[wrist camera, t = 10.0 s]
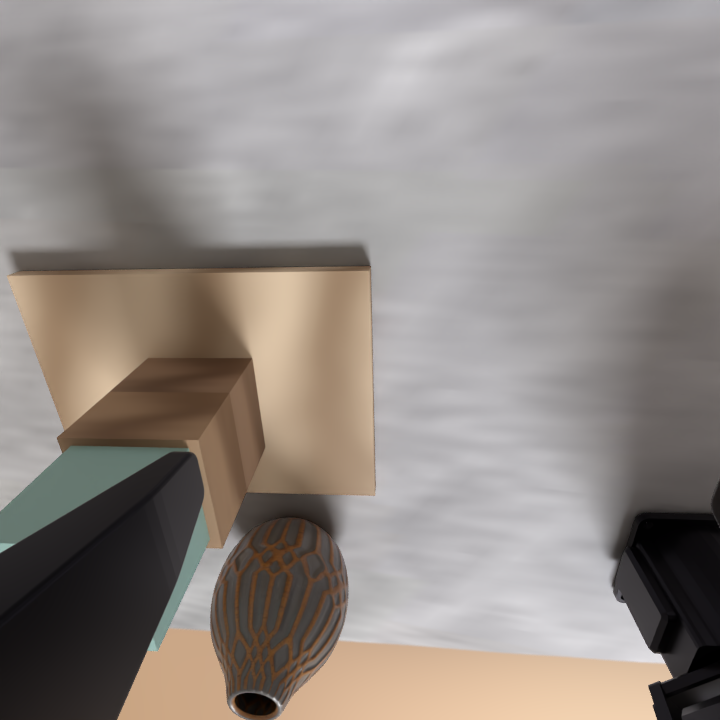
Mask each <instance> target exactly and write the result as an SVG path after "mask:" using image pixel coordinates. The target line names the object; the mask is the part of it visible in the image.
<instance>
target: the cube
mask: <svg viewBox="0 0 720 720" xmlns="http://www.w3.org/2000/svg"><path fill="white" fill-rule="evenodd" d="M173 451H184V452H190V451H189V448H158V447H111V446H70V447H69V448H68V449H67V450H66V451H65V452H64V453H63V454H61V455H60V456H59V457H58V458H57V459H56V460H55V461H54V462H53V463H52V464H51V465H50V466H49V467H48V468H47V469H45V470H44V471H43V472H42V473H41V474H40V475H39V476H38V477H37V478H36V479H35V480H34V481H33V482H32V483H31V484H29V485H28V486H27V487H26V488H25V489H24V490H23V491H22V492H21V493H20V494H19V495H18V496H17V497H16V498H15V499H13V500H12V501H11V502H10V503H9V504H8V505H7V506H6V507H5V508H4V509H3V510H2V511H1V512H0V553H1V552H3V551H4V550H6V549H8V548H9V547H11V546H13V545H14V544H16V543H18V542H19V541H21V540H23V539H24V538H26V537H28V536H29V535H31V534H33V533H35V532H36V531H38V530H40V529H41V528H43V527H45V526H46V525H48V524H50V523H51V522H53V521H55V520H56V519H58V518H60V517H61V516H63V515H65V514H67V513H68V512H70V511H72V510H73V509H75V508H77V507H78V506H80V505H82V504H83V503H85V502H87V501H88V500H90V499H92V498H94V497H95V496H97V495H99V494H100V493H102V492H104V491H105V490H107V489H109V488H110V487H112V486H114V485H115V484H117V483H119V482H120V481H122V480H124V479H126V478H127V477H129V476H131V475H132V474H134V473H136V472H137V471H139V470H141V469H142V468H144V467H146V466H147V465H149V464H151V463H152V462H154V461H156V460H158V459H159V458H161V457H163V456H164V455H166V454H168V453H170V452H173ZM209 540H210V537H209V533H208V529H207V524H206V520H205V516H204V511H203V507H202V506H201V509H200V513H199V516H198V519H197V522H196V525H195V528H194V532H193V535H192V538H191V541H190V544H189V547H188V550H187V554H186V557H185V560H184V563H183V566H182V569H181V572H180V575H179V578H178V581H177V583H176V586H175V588H174V590H173V593H172V595H171V598H170V600H169V602H168V604H167V607H166V609H165V611H164V614H163V616H162V618H161V620H160V623H159V625H158V627H157V629H156V632H155V634H154V636H153V639H152V641H151V643H150V645H149V648H148V650H147V651H158V649H159V647H160V645H161V643H162V640H163V639H164V637H165V634H166V632H167V630H168V628H169V626H170V624H171V622H172V619H173V617H174V615H175V613H176V611H177V609H178V607H179V605H180V602H181V600H182V598H183V596H184V594H185V592H186V590H187V587H188V585H189V583H190V581H191V579H192V577H193V575H194V572H195V570H196V568H197V566H198V564H199V562H200V560H201V557H202V555H203V553H204V551H205V549H206V547H207V545H208V542H209Z"/></svg>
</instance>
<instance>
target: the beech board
mask: <svg viewBox="0 0 720 720" xmlns="http://www.w3.org/2000/svg"><path fill="white" fill-rule="evenodd" d="M7 277H8V280H9V283H10V285H11V288H12V291H13V294H14V296H15V299H16V302H17V304H18V307H19V310H20V312H21V315H22V318H23V320H24V323H25V326H26V328H27V331H28V334H29V337H30V339H31V342H32V345H33V347H34V350H35V353H36V355H37V358H38V361H39V363H40V366H41V369H42V371H43V374H44V377H45V380H46V382H47V385H48V388H49V390H50V393H51V396H52V398H53V401H54V404H55V406H56V409H57V412H58V414H59V417H60V420H61V423H62V425H63V428H64V431H65V430H66V429H67V428H69V427H70V426H71V425H72V424H73V423H74V422H75V421H77V420H78V419H79V418H80V417H81V416H82V415H83V414H85V413H86V412H87V411H88V410H89V409H90V408H91V407H93V406H94V405H95V404H96V403H97V402H98V401H99V400H101V399H102V398H103V397H104V396H105V395H106V394H107V393H109V392H110V391H111V390H112V389H113V388H114V387H115V386H117V385H118V384H119V383H120V382H121V381H122V380H123V379H125V378H126V377H127V376H128V375H129V374H130V373H131V372H133V371H134V370H135V369H136V368H137V367H138V366H139V365H141V364H142V363H143V362H144V361H145V360H146V359H147V358H252V359H253V366H254V372H255V379H256V386H257V393H258V399H259V406H260V413H261V420H262V426H263V433H264V440H265V450H264V452H263V454H262V457H261V459H260V462H259V464H258V466H257V469H256V471H255V473H254V476H253V478H252V480H251V483H250V485H249V487H248V490H247V492H246V493H286V494H327V495H368V496H375V487H376V482H375V437H374V391H373V346H372V301H371V266H341V267H271V268H202V269H133V270H64V271H19V272H16V273H13V274H11V275H8V276H7Z"/></svg>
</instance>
